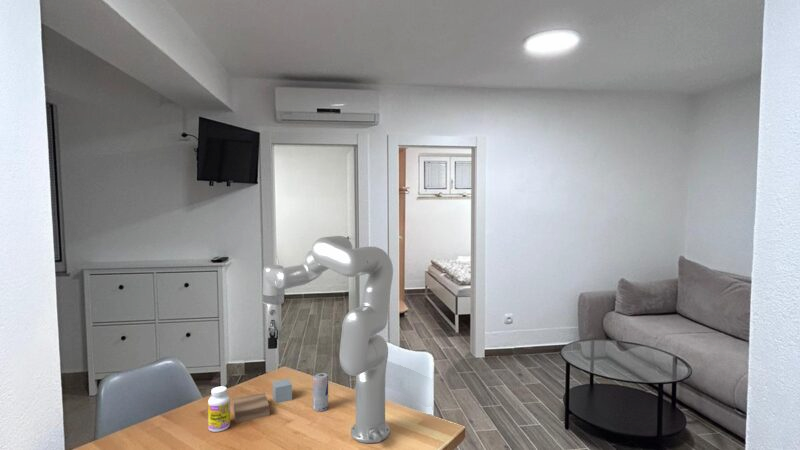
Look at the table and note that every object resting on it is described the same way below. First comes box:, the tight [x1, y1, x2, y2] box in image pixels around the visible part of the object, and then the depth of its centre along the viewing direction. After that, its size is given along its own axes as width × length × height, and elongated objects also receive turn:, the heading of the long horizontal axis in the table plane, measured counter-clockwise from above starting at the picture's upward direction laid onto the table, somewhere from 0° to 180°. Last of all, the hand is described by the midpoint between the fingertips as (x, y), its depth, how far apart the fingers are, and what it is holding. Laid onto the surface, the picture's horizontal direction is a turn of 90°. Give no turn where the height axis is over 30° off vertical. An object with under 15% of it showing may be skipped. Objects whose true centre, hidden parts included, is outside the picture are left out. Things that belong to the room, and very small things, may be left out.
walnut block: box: [232, 392, 270, 424], centre depth 146 cm, size 11×11×4 cm
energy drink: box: [312, 372, 329, 413], centre depth 149 cm, size 5×5×12 cm
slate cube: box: [272, 378, 293, 404], centre depth 157 cm, size 6×6×6 cm
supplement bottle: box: [207, 385, 231, 433], centre depth 136 cm, size 7×7×13 cm
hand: (273, 343), depth 154 cm, fingers open, 9 cm apart
